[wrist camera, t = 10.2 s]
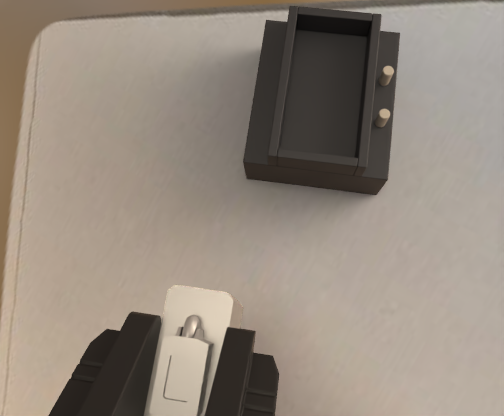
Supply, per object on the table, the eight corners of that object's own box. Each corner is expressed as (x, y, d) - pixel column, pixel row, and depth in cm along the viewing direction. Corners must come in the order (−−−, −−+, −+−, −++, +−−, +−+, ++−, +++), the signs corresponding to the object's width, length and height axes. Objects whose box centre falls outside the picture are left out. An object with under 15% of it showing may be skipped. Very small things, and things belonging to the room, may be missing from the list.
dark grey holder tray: (246, 178, 29) (241, 152, 25) (267, 48, 31) (265, 3, 27) (376, 194, 28) (394, 171, 24) (388, 60, 31) (407, 16, 26)
